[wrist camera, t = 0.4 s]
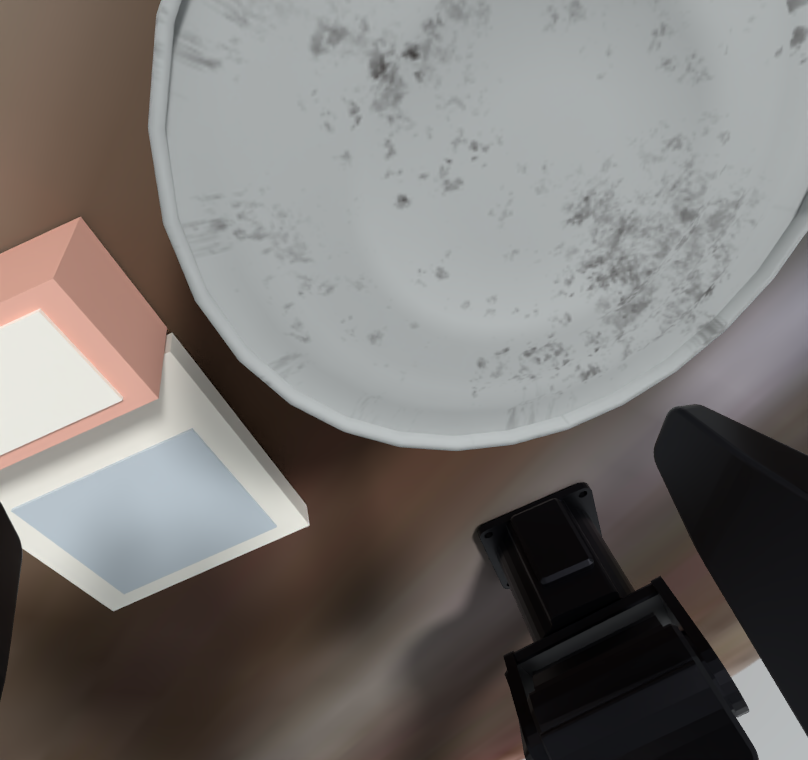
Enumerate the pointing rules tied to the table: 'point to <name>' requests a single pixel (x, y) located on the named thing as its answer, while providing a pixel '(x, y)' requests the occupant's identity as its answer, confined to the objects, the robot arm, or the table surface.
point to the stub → (70, 341)
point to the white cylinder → (477, 197)
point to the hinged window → (151, 493)
